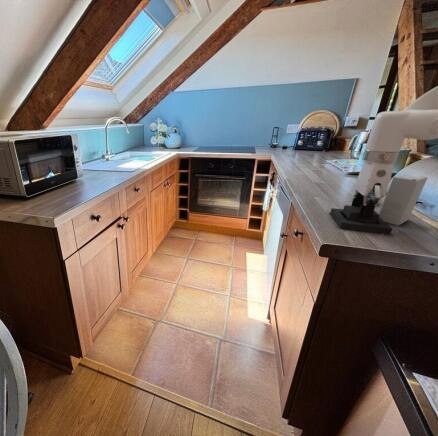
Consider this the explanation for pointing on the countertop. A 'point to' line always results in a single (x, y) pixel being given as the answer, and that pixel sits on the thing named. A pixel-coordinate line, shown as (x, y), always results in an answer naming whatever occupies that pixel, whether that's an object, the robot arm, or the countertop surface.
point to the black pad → (353, 211)
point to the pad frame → (360, 223)
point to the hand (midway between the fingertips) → (360, 213)
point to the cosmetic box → (401, 198)
